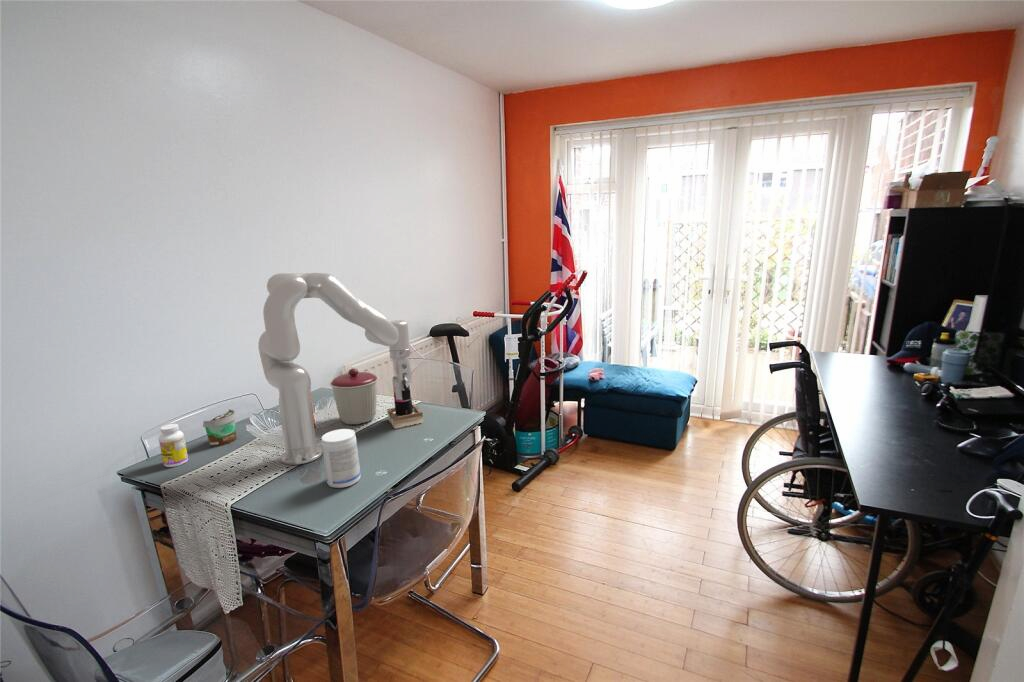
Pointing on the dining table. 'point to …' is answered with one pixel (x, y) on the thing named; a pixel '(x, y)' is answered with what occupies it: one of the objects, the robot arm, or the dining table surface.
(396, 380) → the beverage can
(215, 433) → the food container
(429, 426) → the dining table surface
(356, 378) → the canister
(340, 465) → the supplement tub
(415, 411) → the wooden tray
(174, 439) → the supplement bottle
